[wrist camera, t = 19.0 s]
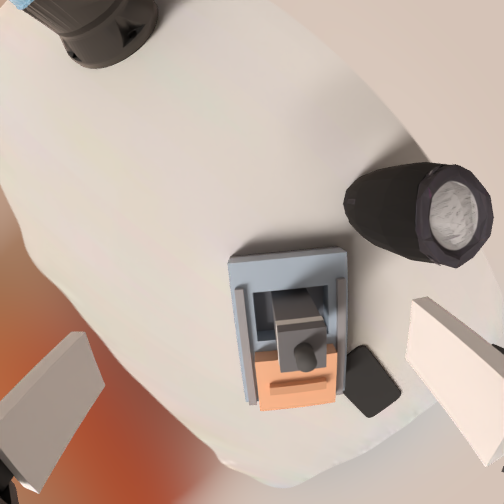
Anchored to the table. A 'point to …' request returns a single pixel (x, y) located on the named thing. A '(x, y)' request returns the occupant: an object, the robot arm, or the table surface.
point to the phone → (368, 383)
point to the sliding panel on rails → (284, 278)
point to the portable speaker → (422, 212)
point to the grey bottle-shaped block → (298, 331)
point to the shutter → (294, 382)
